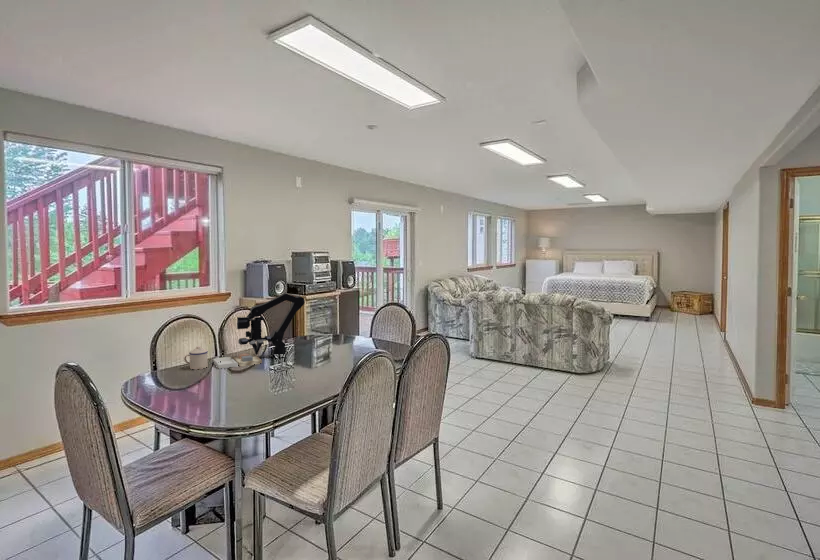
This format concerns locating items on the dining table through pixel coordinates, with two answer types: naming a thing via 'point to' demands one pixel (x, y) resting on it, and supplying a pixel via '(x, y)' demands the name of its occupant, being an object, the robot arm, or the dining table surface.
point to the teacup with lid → (197, 358)
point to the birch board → (255, 361)
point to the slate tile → (246, 358)
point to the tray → (225, 362)
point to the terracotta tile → (242, 355)
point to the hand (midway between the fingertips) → (256, 354)
